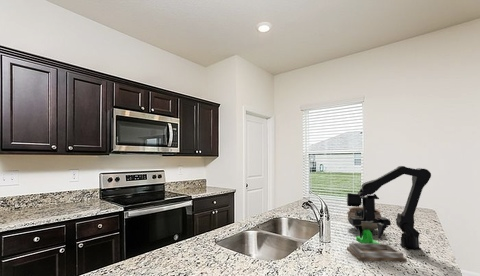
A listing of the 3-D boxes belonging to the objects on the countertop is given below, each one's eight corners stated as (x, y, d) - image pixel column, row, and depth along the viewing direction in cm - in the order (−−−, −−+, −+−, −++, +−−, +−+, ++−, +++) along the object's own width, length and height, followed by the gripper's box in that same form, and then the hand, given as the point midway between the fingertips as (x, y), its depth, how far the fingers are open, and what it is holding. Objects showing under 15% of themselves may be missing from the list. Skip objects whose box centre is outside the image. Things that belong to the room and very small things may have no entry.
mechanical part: (380, 248, 121) (380, 231, 122) (368, 248, 121) (368, 231, 121) (367, 240, 133) (366, 224, 134) (356, 240, 133) (355, 224, 133)
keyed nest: (389, 249, 118) (389, 243, 119) (406, 261, 105) (406, 253, 106) (346, 249, 119) (346, 242, 119) (358, 260, 106) (358, 253, 106)
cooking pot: (395, 234, 142) (394, 212, 143) (372, 238, 134) (371, 215, 135) (358, 223, 165) (358, 205, 166) (337, 226, 157) (336, 207, 158)
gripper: (378, 204, 136) (380, 233, 135) (344, 204, 137) (345, 233, 136) (390, 208, 125) (392, 240, 124) (352, 208, 126) (354, 240, 124)
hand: (369, 238), depth 127 cm, fingers open, 9 cm apart
